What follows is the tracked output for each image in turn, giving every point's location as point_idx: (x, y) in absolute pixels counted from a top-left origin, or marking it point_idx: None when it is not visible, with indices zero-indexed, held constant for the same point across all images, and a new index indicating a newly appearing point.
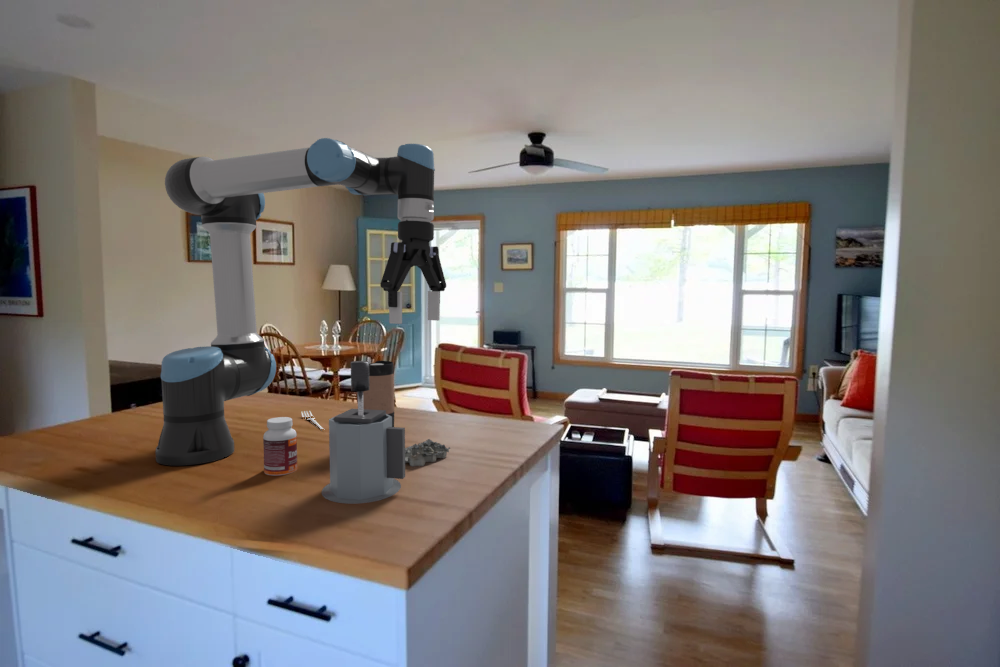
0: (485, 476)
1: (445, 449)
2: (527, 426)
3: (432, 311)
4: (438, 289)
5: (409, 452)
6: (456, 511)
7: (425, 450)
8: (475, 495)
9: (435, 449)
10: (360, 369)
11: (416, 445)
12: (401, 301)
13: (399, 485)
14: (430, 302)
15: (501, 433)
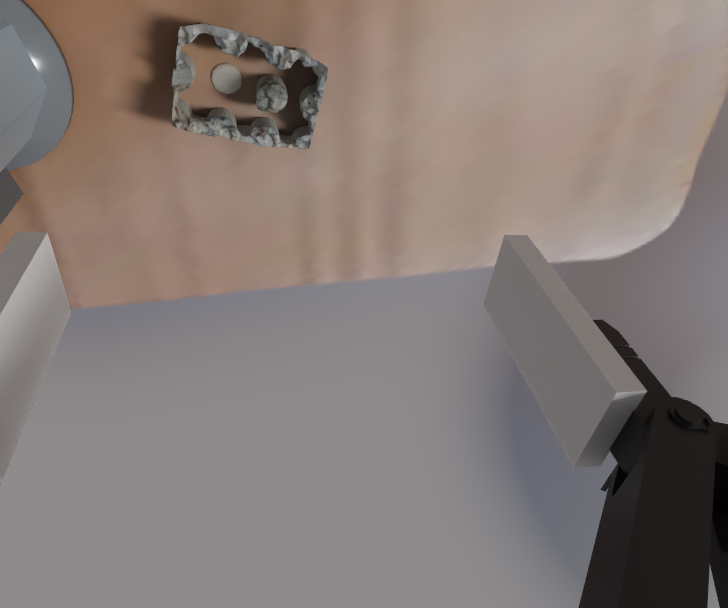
0: (237, 260)
1: (298, 138)
2: (644, 184)
3: (517, 308)
4: (612, 473)
5: (227, 53)
6: None
7: (256, 97)
8: (136, 289)
9: (301, 101)
10: None
11: (271, 53)
12: (9, 438)
13: (45, 151)
14: (553, 339)
15: (565, 152)
